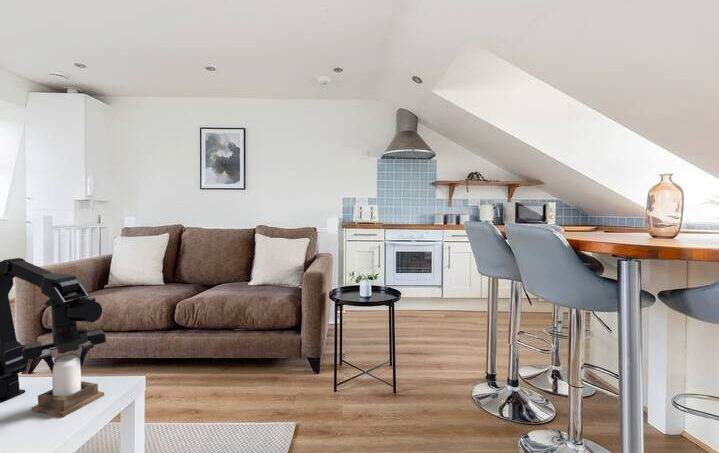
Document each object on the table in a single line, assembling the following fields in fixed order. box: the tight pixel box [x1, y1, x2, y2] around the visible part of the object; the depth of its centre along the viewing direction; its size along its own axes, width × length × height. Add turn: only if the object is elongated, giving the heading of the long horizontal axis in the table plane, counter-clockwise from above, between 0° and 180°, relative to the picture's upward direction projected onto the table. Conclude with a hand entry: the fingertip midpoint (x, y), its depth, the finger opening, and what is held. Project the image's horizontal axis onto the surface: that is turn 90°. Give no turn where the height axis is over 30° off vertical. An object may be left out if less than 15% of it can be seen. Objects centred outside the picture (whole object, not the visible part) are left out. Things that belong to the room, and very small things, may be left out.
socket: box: [31, 380, 105, 418], centre depth 109 cm, size 12×12×4 cm
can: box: [51, 353, 82, 398], centre depth 108 cm, size 6×6×12 cm
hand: (67, 372), depth 108 cm, fingers closed on can, 5 cm apart
